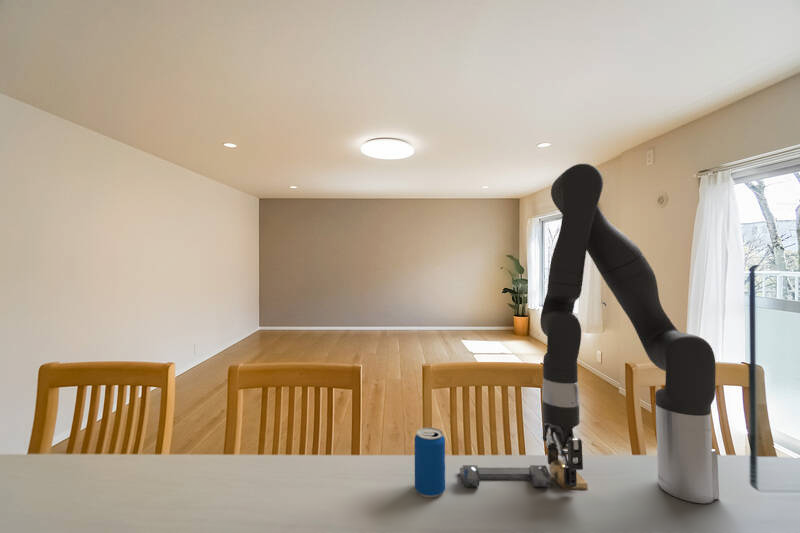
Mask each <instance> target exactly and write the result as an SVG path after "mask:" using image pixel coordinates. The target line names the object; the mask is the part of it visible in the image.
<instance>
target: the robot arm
mask: <svg viewBox="0 0 800 533" xmlns="http://www.w3.org/2000/svg"><path fill="white" fill-rule="evenodd" d="M603 187H604V180H603V175H602V173H601V172H600V170H599V169H598V168H597V167H595V166H594V165H593V164H592V165H591V164H588V163H576V164H574V165H572V166H570V167H568V168H567V169H566V170H565V171H564V172H562V173H560V175H559V176H558V177H557V178H556V179H555V180H554V182H553V183H552V185H551V188H550V197H551V199H552V202H553V203H554V205H555V207H556V209H558V211H559V212H560V213H561V215H562V217H561V225H560V228H559V232H558V233H559V234H558V235H557V236H558V237H557V240H556V243H555V244H554V245H555V246H554V249H553V252H552V255H551V260H550V265H549V269H548V271H549V272H548V280H547V292H546V295H545V298H544V302H543V305H542V309H541V314H540V324H539V325H540V329H541V331H542V333H543V334H544V335H545V336H546V338H547V339H546V340H547V343H546V353H545V354H544V356H543V359H542V360H543V361H542V362H543V364H542V369H543V370H542V376H543V377H542V387H541V393H542V396H541V397H542V402H541V403H542V405H541V406H542V408H541V410H542V411H541V413H542V440H543V442H545V446H546V447H547V464H548V465H549V466H550V464H551V462H552V461H554V460H559V456H561V458H562V461H563V462H564V466H565V467H564V483H565V484H566V486H568V487H575V486H576V485H577V479H576V472H577V471H578V470H579V471H580V470H581V471H583V470H584V466H583V464H584V461H583V459H584V458H583V442H582V439H581V438H575V435H574V431H573V429H574V428H575V427H578V426H579V424H580V390H579V389H580V388H579V382H578V378H579V377H578V376H579V375H578V358H579V355H580V349H581V342H582V327H581V322H580V321H579V318H578V317H577V316H576V315H575V314H574V308H575V303H576V301H577V300H578V299H579V298H580V297H581V295H582V294H581V293H582V288H583V283H584V282H583V280H584V274H585V273H584V271H585V264H586V256H587V254H589V257H590V258H591V260H592V262H593V263H594V265H595V268H596V269H597V270H598V273H600V276H601V277H602V279H603V280H604V282H605V284H606V285H607V286H608V288H609V290H610V291H611V292H612V294H613V295H614V297H615V299H616V300H617V302H618V304H619V305H620V306H621V308H622V310H623V312H624V313H625V314H626V316H627V318H628V319H629V321H630V322H631V324H632V327H633V328H634V330H635V332H636V334H637V337H638V338H639V340H640V344H641V345H642V348H643V349H644V352H645V353H646V355H647V358H648V359H649V360H650V361H651V363H653V364H654V366H656V367H657V368H658V369H660V370H662V371H664V372H665V384H664V387H663V388H660V389H657V390H655V393H654V395H655V396H654V397H655V398H654V399H655V425H656V426H655V429H656V449H657V450H656V452H657V453H656V454H657V478H658V479H657V481H658V486H659V488H661V490H663V491H664V492H666V493H667V494H669V495H671V496H672V497H675V498H677V499H681V500H683V501H687V502H690V503H691V502H692V503H695V504H711V503H713V502H714V501H715V500H720V485H719V484H720V483H719V462H718V452H717V450H716V449H715V448H713V439H712V438H713V437H712V436H713V434H712V418H711V417H712V415H711V413H712V412H711V411H712V410H711V408H712V407H711V406H712V404H713V402H714V400H715V397H716V375H717V373H716V371H717V370H716V364H717V363H716V356H715V353H714V350H713V348H712V346H711V345H710V343H709V342H708V341H707V340H706V339H704V338H702V337H700V336H698V335H695V334H690V333H685V332H680V330H679V329H678V328H676V326H675V325H674V323H673V322H672V320H671V319H670V318H669V316H668V315H667V314H666V311H665V310H664V308H663V307H662V304H661V300H660V296H659V295H660V294H659V288H658V282H657V277H656V275H655V273H654V272H655V271H654V270H653V268H652V267H651V265H650V263H649V262H648V260H647V258H646V257H645V255H644V254H643V252H642V251H641V249H640V248H639V247H638V246H637V245H636V244H635V242H634V241H632V239H630V238H629V237H628V236H627V235H625V233H623V232H622V231H621V230H619V229H618V228H617V227H616V226H615V225H613V224H612V223H611V221H609V220H608V219H607V217H606V216H605V214H604V213H603V212H602V210H601V207H600V206H599V202H600V198H601V196H602V192H603Z"/></svg>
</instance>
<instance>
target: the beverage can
mask: <svg viewBox="0 0 800 533" xmlns="http://www.w3.org/2000/svg"><path fill="white" fill-rule="evenodd" d="M414 489H415V491H417V493H419V495H421V496H422V497H425V498H430V499H431V498H437V497H439V496H440V495H441V494H444V492H445V491H446V439H445V436H444V432H443V431H442V430H441V429H440V428H439V429H438V428H436V427H421V428H420V429H419V428H418V430H417V431H416V435H415V436H414Z"/></svg>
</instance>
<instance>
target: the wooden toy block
mask: <svg viewBox="0 0 800 533" xmlns="http://www.w3.org/2000/svg"><path fill="white" fill-rule="evenodd" d="M564 467H565V466H564V462H563V459H558V460H554V461H552V462H551V464H550V465H549V468H548V472H549V474H551V475H552V477H553V478H554V480H555V481H556V482H557V484H559V486H560V487H561V488H562V489H564V490H588V488H589V485H588V482H587V481H586V480H585V479H584V478H583V477H582V476H581V474H580V473H578V472H577V471H576V479H577V485H576V486H575V487H568V486H566V484H565V483H564Z"/></svg>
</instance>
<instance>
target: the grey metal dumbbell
mask: <svg viewBox="0 0 800 533" xmlns="http://www.w3.org/2000/svg"><path fill="white" fill-rule="evenodd" d="M459 474H460V477H461V481H462V484H463V487H472V488H474V487H476V488H477V487H479V486H480V480H528V481H529V482H530V484H531V486H533V487H536V488H538V487H540V488H541V487H544V488H545V487H547V488H549V487H550V486H551V478H550V477H551V476H550V471H549V468H548V467H547V466H546V465H545V464H544V465H542V464H539V465H538V464H537V465H535V464H534V465H533V464H532V465H531V464H530V465H529V467H478V465H477V464H473V465H472V464H469V465H467V464H463V465H462V467H459Z"/></svg>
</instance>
